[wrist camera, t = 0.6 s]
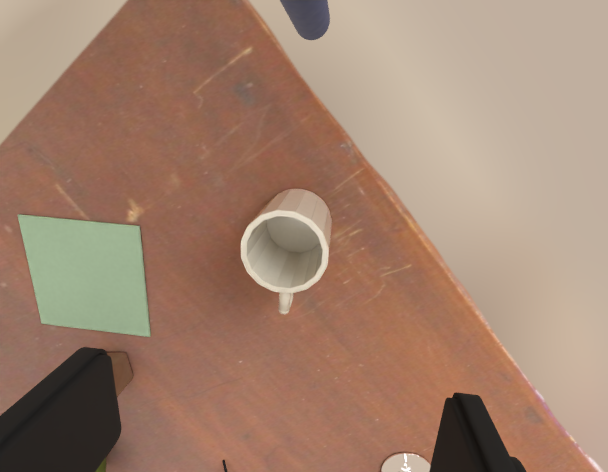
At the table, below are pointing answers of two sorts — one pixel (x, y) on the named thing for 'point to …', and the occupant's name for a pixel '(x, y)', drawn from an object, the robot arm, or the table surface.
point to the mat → (87, 274)
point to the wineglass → (405, 463)
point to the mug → (288, 244)
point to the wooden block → (120, 370)
